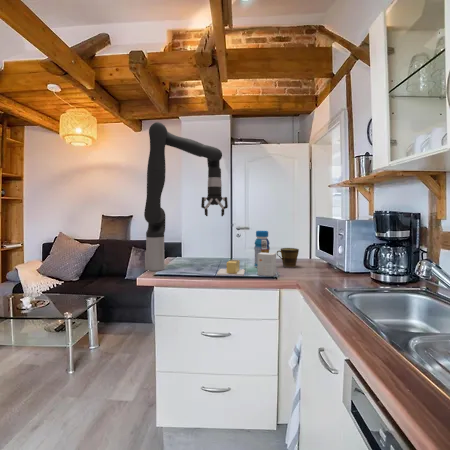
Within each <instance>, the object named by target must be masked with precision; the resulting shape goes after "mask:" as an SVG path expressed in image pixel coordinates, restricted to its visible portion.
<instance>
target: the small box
mask: <svg viewBox="0 0 450 450" xmlns="http://www.w3.org/2000/svg"><path fill="white" fill-rule="evenodd" d="M257 260H258V261H257V262H258V268H257V275H258V276H263V277H264V276H265V277H274V276H276V275H277V252H269V253H263V252H261V253H258V254H257Z"/></svg>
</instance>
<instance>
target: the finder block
mask: <svg viewBox="0 0 450 450" xmlns="http://www.w3.org/2000/svg"><path fill="white" fill-rule="evenodd" d="M226 269H227V273H236V272H238V271H239V270H240V269H241V267H240V259H229V260H228V261H227V262H226Z"/></svg>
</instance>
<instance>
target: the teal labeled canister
mask: <svg viewBox="0 0 450 450" xmlns="http://www.w3.org/2000/svg"><path fill="white" fill-rule="evenodd" d="M255 237H256V239H255V240H254V248H253V250H254V264H253V265H254V268H257V269H258V262H257V261H258V260H257V254H258V253H261V252H263V253H270V250H271V248H270V240H269V238H268V237H269V230H256V232H255Z"/></svg>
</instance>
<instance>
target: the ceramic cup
mask: <svg viewBox="0 0 450 450" xmlns="http://www.w3.org/2000/svg"><path fill="white" fill-rule="evenodd" d="M299 251H300V249H299V248H297V247H296V248H295V247H281V248H280V250H277V251H276V256H278V257H279V258H280V260H282V267H283V268H286V269H287V268H289V269H290V268H291V269H292V268H296V266H297V263H298V262H297V260H298V255H299ZM279 252H280V255H279V254H278V253H279Z"/></svg>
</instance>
